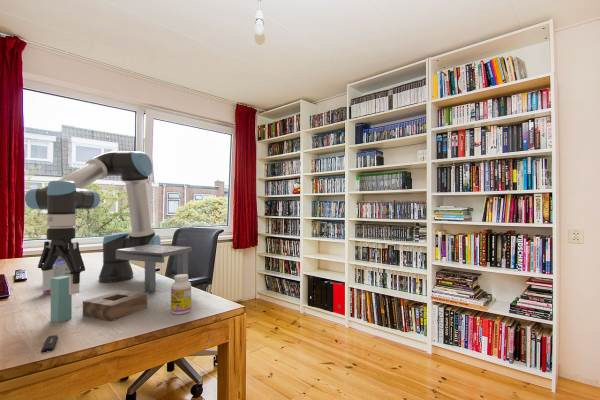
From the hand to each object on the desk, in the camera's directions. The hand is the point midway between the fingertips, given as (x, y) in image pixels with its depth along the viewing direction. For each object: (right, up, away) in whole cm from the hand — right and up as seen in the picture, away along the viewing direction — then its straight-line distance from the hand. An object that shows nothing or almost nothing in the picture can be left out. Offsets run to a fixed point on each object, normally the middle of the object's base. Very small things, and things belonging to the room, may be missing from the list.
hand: (60, 291), depth 101 cm
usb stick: (+11, -10, -18) cm, 23 cm away
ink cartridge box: (-28, -10, +34) cm, 45 cm away
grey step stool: (+20, -9, +24) cm, 32 cm away
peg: (0, -9, 0) cm, 9 cm away
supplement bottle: (+37, -10, +7) cm, 39 cm away
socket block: (+14, -9, +8) cm, 18 cm away
